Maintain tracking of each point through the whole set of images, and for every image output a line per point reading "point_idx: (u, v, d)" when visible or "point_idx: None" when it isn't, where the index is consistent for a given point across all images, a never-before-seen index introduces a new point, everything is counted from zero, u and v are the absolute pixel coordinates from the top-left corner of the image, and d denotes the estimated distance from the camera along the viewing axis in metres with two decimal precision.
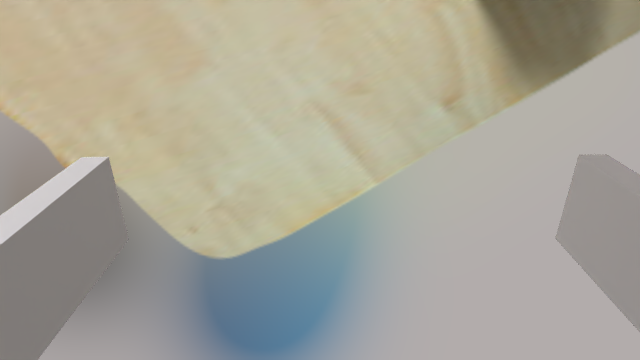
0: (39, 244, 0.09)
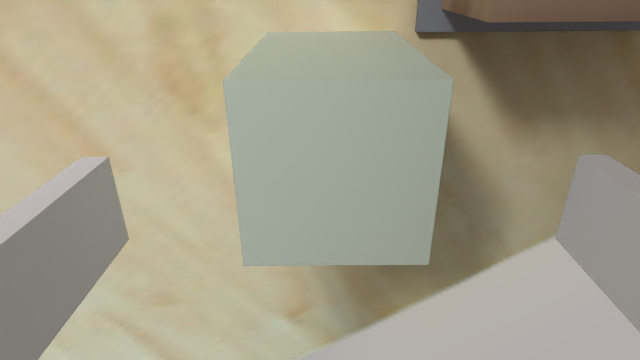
0: (38, 244, 0.09)
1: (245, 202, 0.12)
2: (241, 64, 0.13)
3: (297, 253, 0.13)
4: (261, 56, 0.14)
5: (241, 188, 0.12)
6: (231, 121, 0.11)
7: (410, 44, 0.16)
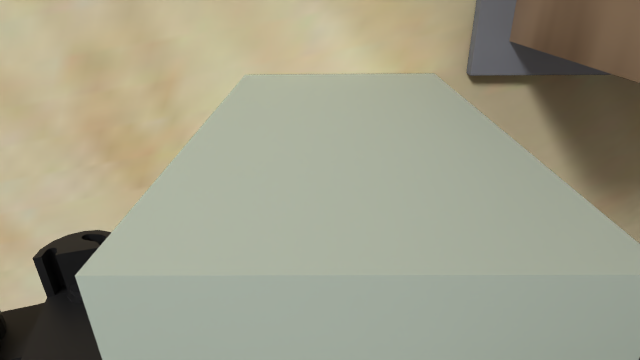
0: None
1: None
2: (161, 182, 0.06)
3: None
4: (213, 149, 0.07)
5: None
6: (111, 354, 0.05)
7: (477, 110, 0.09)
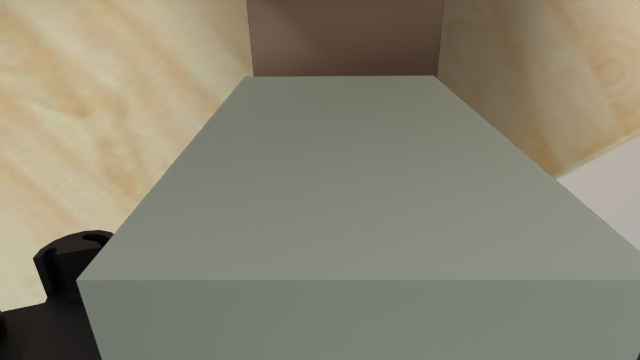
0: None
1: None
2: (161, 186, 0.06)
3: None
4: (212, 152, 0.07)
5: None
6: (111, 358, 0.05)
7: (476, 112, 0.09)
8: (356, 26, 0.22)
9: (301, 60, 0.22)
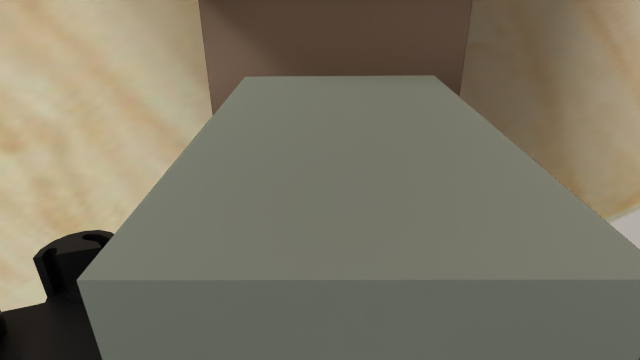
0: None
1: None
2: (162, 186, 0.06)
3: None
4: (213, 152, 0.07)
5: None
6: (112, 358, 0.05)
7: (477, 112, 0.09)
8: (350, 58, 0.16)
9: None
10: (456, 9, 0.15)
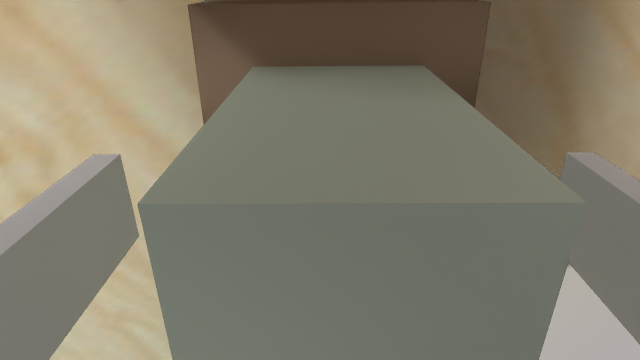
0: (55, 239, 0.09)
1: None
2: (191, 146, 0.07)
3: None
4: (230, 123, 0.09)
5: None
6: (160, 270, 0.06)
7: (457, 94, 0.11)
8: None
9: None
10: (472, 16, 0.14)
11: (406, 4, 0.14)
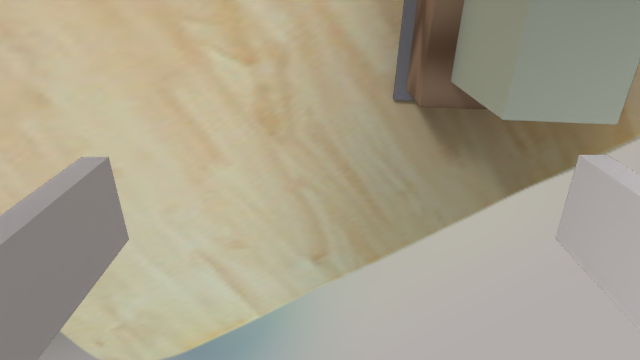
0: (38, 244, 0.09)
1: (518, 74, 0.21)
2: None
3: (538, 112, 0.21)
4: None
5: (519, 64, 0.20)
6: (527, 19, 0.20)
7: None
8: None
9: None
10: None
11: None
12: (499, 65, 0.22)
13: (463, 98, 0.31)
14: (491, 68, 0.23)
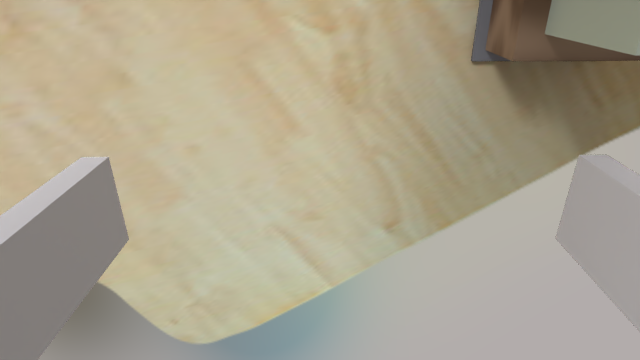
0: (38, 245, 0.09)
1: None
2: None
3: None
4: None
5: None
6: None
7: None
8: None
9: None
10: None
11: None
12: (625, 3, 0.23)
13: (556, 51, 0.32)
14: (612, 8, 0.24)
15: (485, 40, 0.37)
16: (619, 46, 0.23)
